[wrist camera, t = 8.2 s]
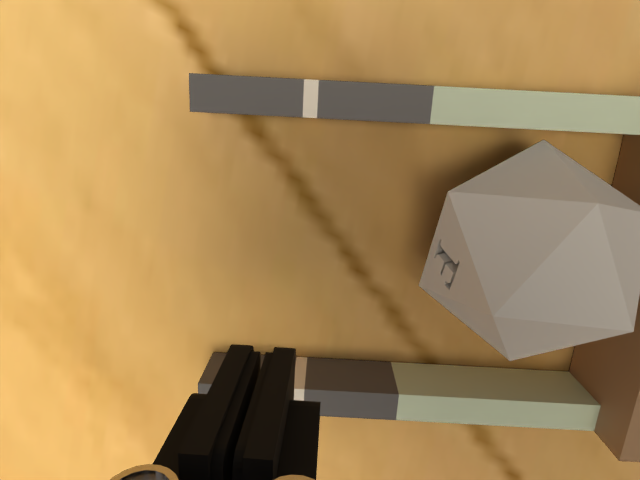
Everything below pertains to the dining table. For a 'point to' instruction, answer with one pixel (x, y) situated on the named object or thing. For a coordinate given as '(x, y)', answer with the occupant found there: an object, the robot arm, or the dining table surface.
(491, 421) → the trap lane
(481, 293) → the die
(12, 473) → the dining table surface
